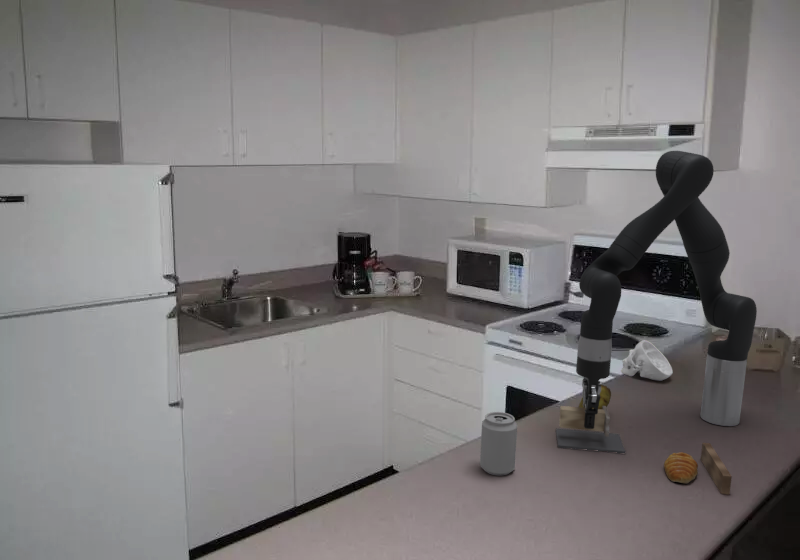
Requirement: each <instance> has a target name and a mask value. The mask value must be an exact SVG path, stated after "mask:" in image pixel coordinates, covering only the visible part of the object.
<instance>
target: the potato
mask: <svg viewBox="0 0 800 560" xmlns="http://www.w3.org/2000/svg"><path fill="white" fill-rule="evenodd" d="M600 385H601V392H600V401H599V406H598V409H602V406H606V408H607V407H608V406H609V404H610V402H611V397H612V391H611V389H610V388H609V387H608V386H607V385H603V384H601V383H600ZM582 399H583V397H582V396H581V400H580V402H579V404H578V407H580V408H585V407H583V403H584V402H583V400H582ZM593 409H594V408H593Z"/></svg>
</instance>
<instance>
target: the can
mask: <svg viewBox="0 0 800 560" xmlns="http://www.w3.org/2000/svg"><path fill="white" fill-rule="evenodd" d="M515 420H516V419H515V417H514V415H512V414H510V413H507V412H503V411H492V412H489V413H487V414H486V415H485V416H484V419H483V420H482V422H481V433H480V436H481V437H480V451H479V452H480V455H479V457H480V458H479V466H480V467H481V469H483V470H484V472H486V473H487V474H490V475H492V476H507V475H509V474H510V473H511V472H513V471H514V470H515V469H516V454H517V437H518V436H517V435H518V423H517V422H516V421H515Z"/></svg>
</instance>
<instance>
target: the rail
mask: <svg viewBox="0 0 800 560" xmlns="http://www.w3.org/2000/svg"><path fill="white" fill-rule="evenodd" d="M701 443H702V444H701V452H700V461H701V462H702V464H703V465H704V468H705V469H706V471H707V473H708V474H709V476H710V477H711V480H712V481H713V483H714V484H715V486H716V488H717V489H718V492H719V493H720V495H727V496H729V495H730V493H731V486H732V477H733V476H732V474H731V473H730V472H729V470H728V469H727V467H726V465H725V463H724V462H723V460H722V459H721V457H720V456H719V455H718V453H717V452H716V450H715V448H714V447H713V445H712V444H711V443H708V442H701Z"/></svg>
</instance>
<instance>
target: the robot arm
mask: <svg viewBox="0 0 800 560" xmlns="http://www.w3.org/2000/svg"><path fill="white" fill-rule="evenodd" d="M713 177H714V165H713V162H712V161H711V160H710V159H709V157H707V156H705V155H702V154H698V153H693V152H690V151H689V152H688V151H683V150H669V151H666V152H664V153H663V154H662V155H661V156H660V157H659V158H658V160H657V161H656V166H655V178H656V182H657V184H658V187H659V189H660V191H661V193H662V195H663V197H662V198H661V199H660V200H659V201H658V202H656V203H655V204H654V205H653V206H652V207H650V208H648V209H647V210H646V211H644V212H643V213H641V214H639V215H637V216H636V217H635V218H633V219H632V220H631V221H629V222H628V223H627V225H625V226H624V227H623V229H621V231H620V232H619V234H618V235H617V236H616V238H615V239H614V240H613V242H612V243H611V244H610V246H609V247H608V248H607V250H606V251H604V252H603V253H602V254H600V255H599V256H598V257H597V258H596V259H595V260H594V261H592V262H591V263H590V264H589V266H587V268H585V270H584V271H583V273H582V275H581V277H580V278H579V283H578V284H579V287H578V288H579V290H580V292H581V293H582V294H583V295H584V296H585V297H587V298H589V299H590V304H589V308H588V310H585V311H584V312H583V313H582V315H581V318H580V319H581V320H580V330H579V331H580V332H579V340H578V344H577V352H576V353H577V355H576V366H575V367H576V368H575V372H576V374H577V375H578V376H580V377H582V378H583V379H582V381H581V387H582V391H581V392H582V393H581V394H582V395H581V399H582V397H583V399H582V400H583V402H584V403H583V407H585V410H584V411H585V421H584V427H585V428H586V429H593V428H594V422H595V414H597V413H598V406H599V401H600V392H601V385H602V384H601V381H600V380H605V379H607V378H609V377H610V373H611V362H612V353H613V352H612V351H613V350H612V349H613V346H612V345H613V344H612V340H613V339H612V337H613V323H614V318H615V316H616V314H617V312H618V311H617V310H618V307H619V304H620V301H621V297H622V284H621V281H620V279H619V278H618V275H620V274H621V273H622V272H625V271H630V270H632V269H633V268H634V267H635V266H636V265H637V264H638V263H639V261H640V260H641V259H642V257H643V256H644V255H645V253H646V252H647V250H649V248H650V246H651V245H652V244H653V243H654V241H655V240H657V238H658V237H659V236H660V235H661V234H662V232H664V230H666V228H668V226H670V225H671V224H672V223H673V222H674V221H675V224H676V228H677V230H678V232H679V235H680V238H681V241H682V245H683V247H684V250H685V252H686V256H687V258H688V261H689V264H690V266H691V268H692V272H693V274H694V275H693V276H694V278H695V280H696V281H695V282H696V285H697V287H698V292H699V297H700V302H701V306H702V310H703V315H704V317H705V319H706V321H707V322H708V323H709V325H711V326H712V327H715V328H718V329H722V330H726V331H728V334H727V338H726V339H720V340H714V341H710V343H709V344H708V345H707V354H706V355H707V356H706V361H705V362H706V364H705V373H704V380H703V381H704V382H703V388H702V389H703V391H702V398H701V407H700V414H699V415H700V418H701V419H702V420H703V421H705V422H706V423H710V424H713V425H717V426H721V427H722V426H724V427H734V426H738V425H739V424H740V419H741V411H742V403H743V395H744V390H745V389H744V388H745V379H746V372H747V361H748V355H749V351H750V349H751V346H752V342H753V336H754V331H755V327H756V326H755V325H756V320H757V310H758V309H757V303H756V301H755V300H754V299H753V298H751V297H749V296H744V295H740V294H734V293H730V292H727V291H726V290H725V289H724V286H723V283H722V278H721V276H722V274H723V272H724V270H725V269H726V266H727V264H728V263H729V259H730V253H731V252H730V248H729V244H728V241H727V238H726V235H725V232H724V230H723V227H722V226H721V225H720V223H719V222H718V220H717V219H716V218H715V216H714V215H713V214H712V212H710V211H709V209H707V207H706V206H705V205H704V203H702V201H701V199H700V198H699V197H700V196H701V195H702V194H703V193H704V192H705V190H706V189H707V188H708V186H709V185H710V183H711V181H712V180H713ZM600 384H601V385H600ZM593 408H594V409H593Z"/></svg>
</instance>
